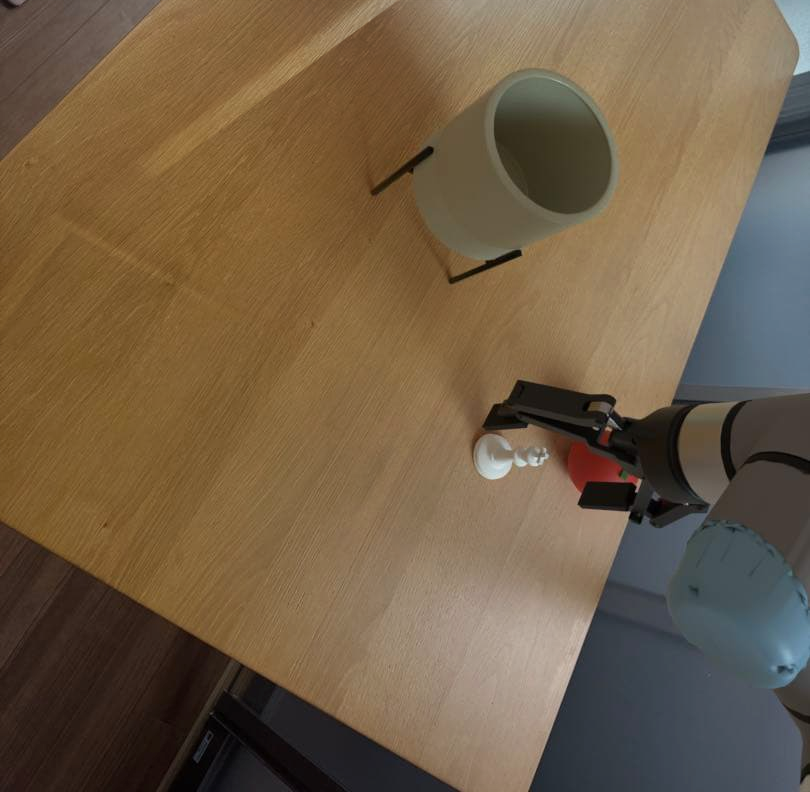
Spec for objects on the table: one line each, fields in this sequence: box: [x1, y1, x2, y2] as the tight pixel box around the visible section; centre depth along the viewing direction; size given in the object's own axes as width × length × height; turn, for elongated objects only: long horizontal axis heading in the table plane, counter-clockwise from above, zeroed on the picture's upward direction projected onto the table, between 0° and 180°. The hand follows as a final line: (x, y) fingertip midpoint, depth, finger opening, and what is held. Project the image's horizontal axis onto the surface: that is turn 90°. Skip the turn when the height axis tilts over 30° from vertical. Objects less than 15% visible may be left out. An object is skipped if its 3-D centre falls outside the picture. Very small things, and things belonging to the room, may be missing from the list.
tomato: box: [567, 429, 640, 494], centre depth 83 cm, size 8×8×9 cm
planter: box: [370, 67, 620, 285], centre depth 76 cm, size 15×16×23 cm
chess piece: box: [472, 433, 550, 480], centre depth 77 cm, size 5×5×10 cm
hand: (538, 456), depth 74 cm, fingers open, 13 cm apart
